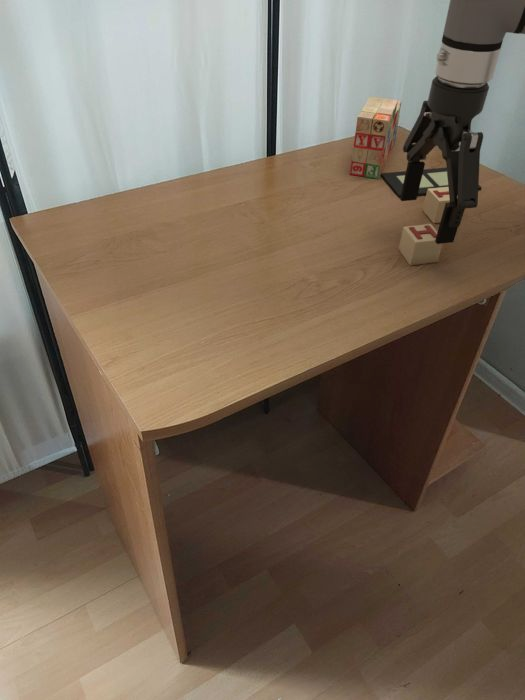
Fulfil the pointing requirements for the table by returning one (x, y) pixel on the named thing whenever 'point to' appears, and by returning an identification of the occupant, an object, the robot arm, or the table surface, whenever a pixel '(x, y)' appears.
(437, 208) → the wooden letter block
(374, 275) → the table surface
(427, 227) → the cream cube
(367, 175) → the stack of blocks
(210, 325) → the table surface
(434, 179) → the word mat
